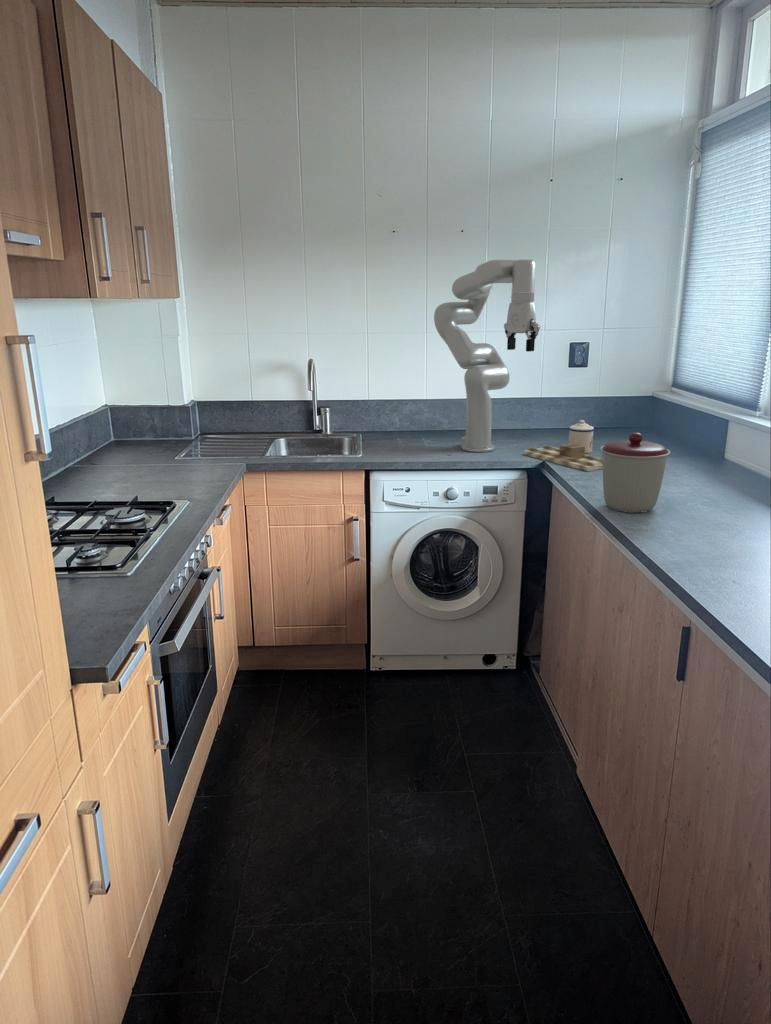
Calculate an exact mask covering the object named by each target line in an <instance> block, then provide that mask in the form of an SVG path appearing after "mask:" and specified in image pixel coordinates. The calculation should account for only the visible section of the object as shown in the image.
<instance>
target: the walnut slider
mask: <svg viewBox="0 0 771 1024" xmlns="http://www.w3.org/2000/svg"><path fill="white" fill-rule="evenodd" d="M559 449H560V454H559V455H563V456H567V457H571V458H575V459H578V458H584V455H586V453H585V446H581V445H577V444H573V443H572V444H569V443H567V444H561V445H559Z"/></svg>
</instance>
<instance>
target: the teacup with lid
mask: <svg viewBox="0 0 771 1024" xmlns="http://www.w3.org/2000/svg"><path fill="white" fill-rule="evenodd" d="M568 430H569V431H568V432H569V434H568V444H572V443H573V444H577V445H581V446H585V454H590V453H592V452H593V443H594V441H593V440H594V431H595V428H594V426H592V425H589V424H588V423H586V422H585V420H583V419H580V420H579V421H578V423H575V424H573V425H570V426H569V428H568Z"/></svg>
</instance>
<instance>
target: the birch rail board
mask: <svg viewBox="0 0 771 1024" xmlns="http://www.w3.org/2000/svg"><path fill="white" fill-rule="evenodd" d="M559 454H560V447H555V446H551V445H547V444H543V445H542V447H539V448H535V447H531V446H529V447H528V449H525V450H523V455H524V456H528V457H532V458H536V459H540V460H543V461H546V460H547V462H550V461H551V462H550V463H555V464H558V465H562V466H564V467H565V466H566V467H570V468H572V469H573V468H574V469H577V470H580V471H584V472H592V471H598V470H599V469H600V470H603V466H602V457H601V458H600V457H597V456H592V455H588V454H584V458H578V459H575V458H571V457H567V456H563V455H559Z"/></svg>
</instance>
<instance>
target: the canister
mask: <svg viewBox="0 0 771 1024" xmlns="http://www.w3.org/2000/svg"><path fill="white" fill-rule="evenodd" d="M643 438H644V437H643V435H642V434H641V433H640V432H631V434H629V435H628V439H623V440H622V439H621V440H614V441H610V442H607V443H606V444H604V445H602V446H600V447H599V451H600V452H601V459H602V466H603V469H602V485H603V487H602V488H603V498H604V502H605V504H606V506H607V507H608V508H610V509H612V510H614V511H617V510H619V511H618V512H621V511H626V512H625V513H629V512H641V513H643V512H642V511H647V512H649V511H648V510H650V509H651V510H653V509H654V507H655V506H656V504H657V502H658V499H659V494H660V490H661V486H662V482H663V479H664V475H665V469H666V464H667V459H668V456H669V455H671V450H670V449H668V448H666V447H665V446H664V445H663V444H659V443H656V442H653V441H652V442H651V441H646V440H643ZM651 510H650V511H651Z"/></svg>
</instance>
